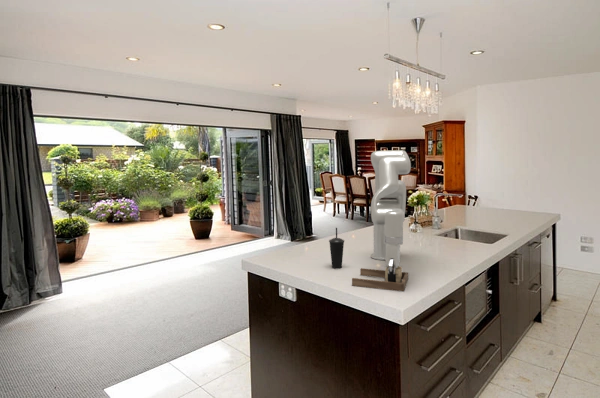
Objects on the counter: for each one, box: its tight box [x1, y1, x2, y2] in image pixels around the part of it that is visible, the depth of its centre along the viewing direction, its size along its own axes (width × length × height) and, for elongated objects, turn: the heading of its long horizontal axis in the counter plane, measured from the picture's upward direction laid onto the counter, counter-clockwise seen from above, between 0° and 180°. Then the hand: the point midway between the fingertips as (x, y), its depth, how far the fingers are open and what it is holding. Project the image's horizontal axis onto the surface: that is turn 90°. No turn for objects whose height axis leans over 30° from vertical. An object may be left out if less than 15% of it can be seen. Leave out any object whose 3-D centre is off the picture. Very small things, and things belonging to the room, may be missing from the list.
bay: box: [351, 267, 409, 292], centre depth 156 cm, size 16×21×3 cm
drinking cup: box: [328, 227, 345, 270], centre depth 180 cm, size 8×8×20 cm
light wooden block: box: [384, 265, 403, 283], centre depth 154 cm, size 6×6×7 cm
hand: (393, 279), depth 154 cm, fingers open, 9 cm apart
